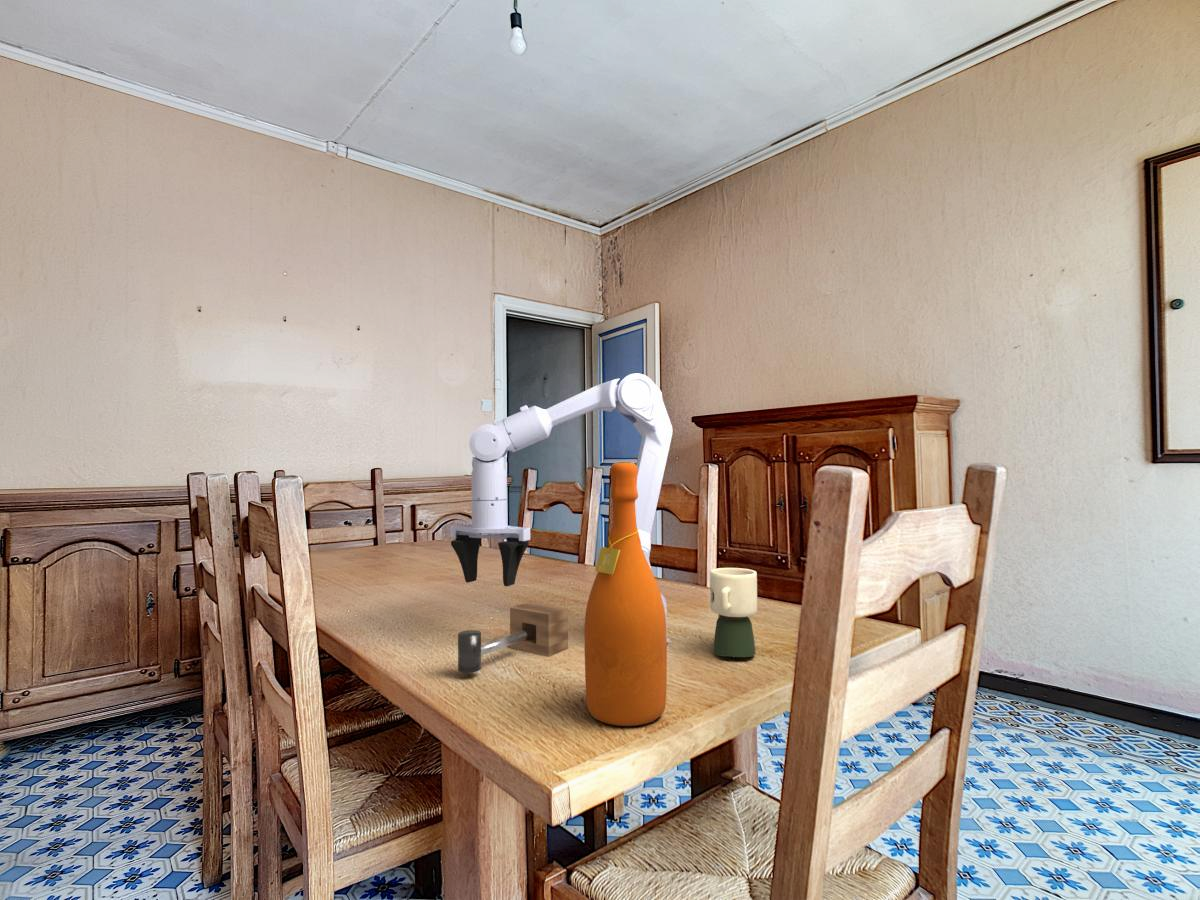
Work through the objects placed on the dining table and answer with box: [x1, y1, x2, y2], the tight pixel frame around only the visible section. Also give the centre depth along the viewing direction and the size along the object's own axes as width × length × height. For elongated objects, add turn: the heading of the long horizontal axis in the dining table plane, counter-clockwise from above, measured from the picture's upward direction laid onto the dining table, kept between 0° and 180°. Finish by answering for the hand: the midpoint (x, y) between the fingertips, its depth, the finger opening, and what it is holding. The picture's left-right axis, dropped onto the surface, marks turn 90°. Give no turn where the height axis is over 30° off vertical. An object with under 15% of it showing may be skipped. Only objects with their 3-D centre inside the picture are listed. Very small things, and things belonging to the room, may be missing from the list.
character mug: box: [709, 567, 758, 660], centre depth 93 cm, size 11×7×13 cm, turn 152°
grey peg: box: [457, 629, 527, 674], centre depth 90 cm, size 13×3×5 cm, turn 146°
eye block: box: [509, 601, 569, 657], centre depth 98 cm, size 5×8×6 cm, turn 56°
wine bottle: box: [583, 461, 668, 727], centre depth 73 cm, size 10×10×30 cm
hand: (489, 583), depth 99 cm, fingers open, 7 cm apart
